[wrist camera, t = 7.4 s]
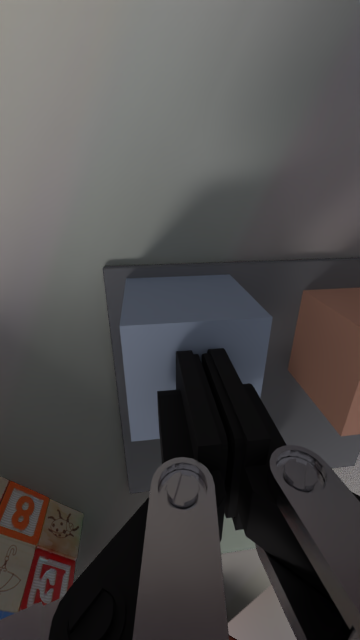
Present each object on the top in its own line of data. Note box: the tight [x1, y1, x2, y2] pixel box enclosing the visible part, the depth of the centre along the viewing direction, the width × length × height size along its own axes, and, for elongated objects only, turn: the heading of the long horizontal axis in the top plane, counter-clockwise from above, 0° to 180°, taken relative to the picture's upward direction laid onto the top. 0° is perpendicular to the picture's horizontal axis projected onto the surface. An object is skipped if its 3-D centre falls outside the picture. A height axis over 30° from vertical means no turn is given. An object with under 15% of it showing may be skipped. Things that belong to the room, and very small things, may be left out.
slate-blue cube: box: [120, 274, 273, 442], centre depth 13 cm, size 5×5×5 cm
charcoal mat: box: [103, 258, 360, 494], centre depth 18 cm, size 16×17×1 cm
